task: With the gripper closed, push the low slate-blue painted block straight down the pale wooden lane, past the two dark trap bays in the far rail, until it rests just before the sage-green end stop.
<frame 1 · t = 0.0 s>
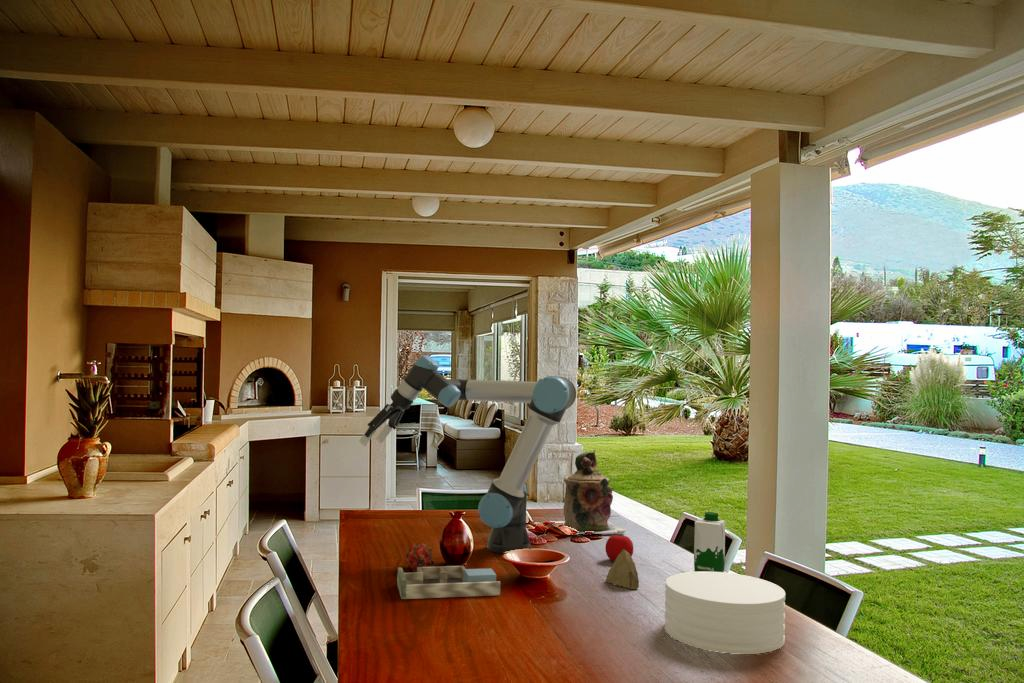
hand: (370, 442, 267), 36 cm above the table, tool tilted 35°, fingers open, 13 cm apart
block: (479, 589, 215), on the table
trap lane: (449, 590, 213), on the table
cookie jar: (586, 530, 303), on the table
plate stack: (723, 635, 184), on the table
dragon fruit: (419, 570, 234), on the table
milk carton: (708, 580, 232), on the table
fruit: (619, 561, 253), on the table
rock: (622, 586, 223), on the table
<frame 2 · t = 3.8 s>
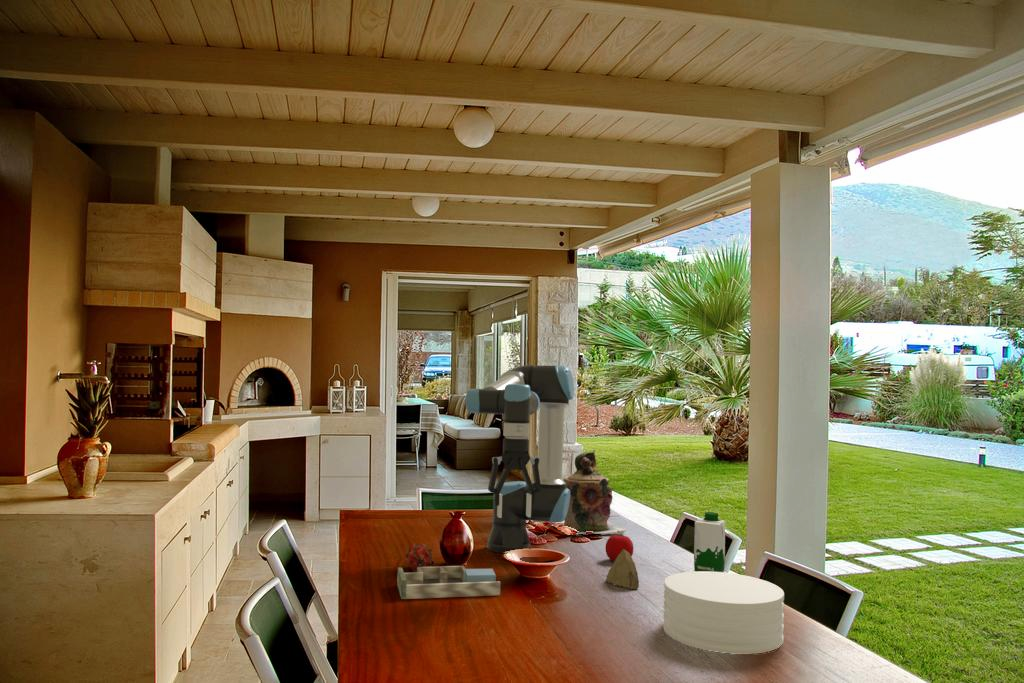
hand: (513, 516, 218), 20 cm above the table, tool pointing down, fingers open, 8 cm apart
nothing on the table moved.
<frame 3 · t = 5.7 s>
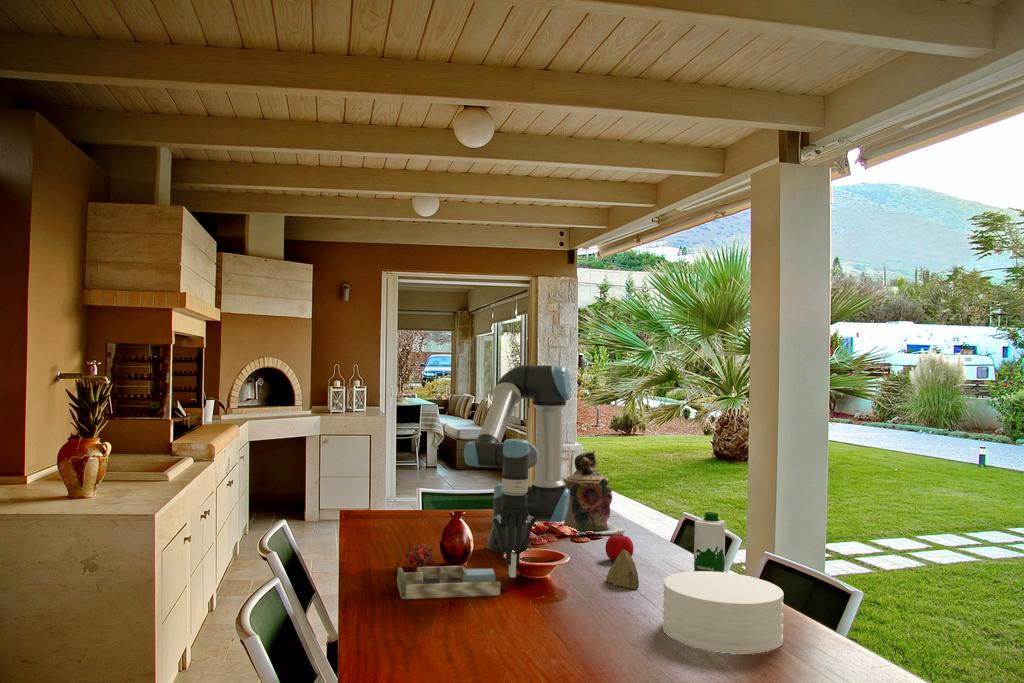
hand: (512, 576, 217), 3 cm above the table, tool pointing down, fingers closed
nothing on the table moved.
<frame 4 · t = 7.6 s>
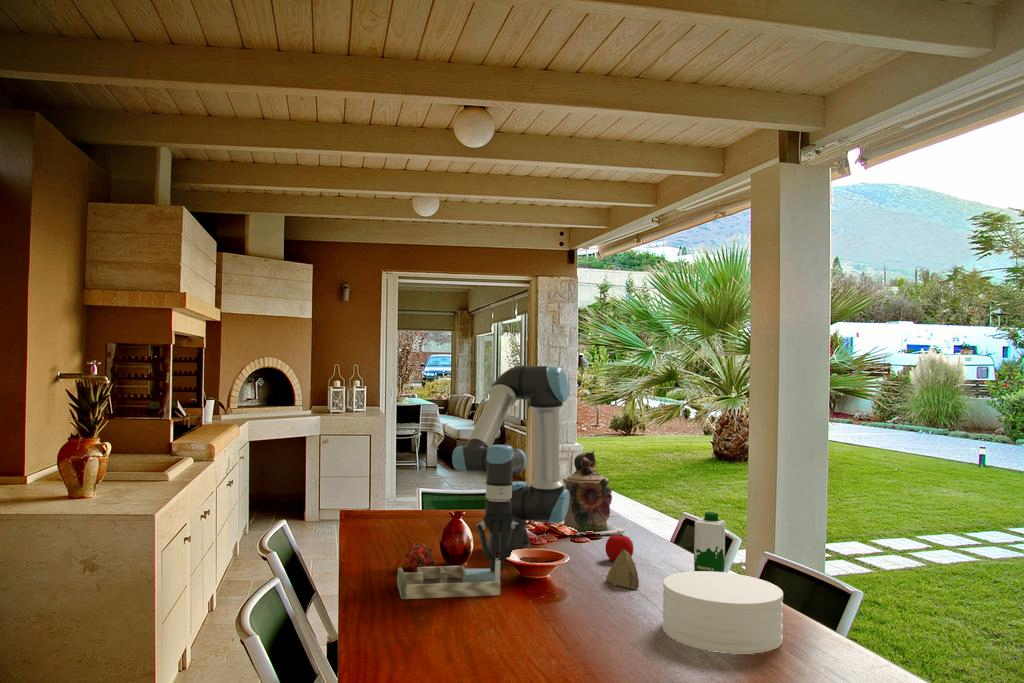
hand: (496, 582, 216), 2 cm above the table, tool pointing down, fingers closed
block: (479, 589, 215), on the table, touching gripper
everything else where it was.
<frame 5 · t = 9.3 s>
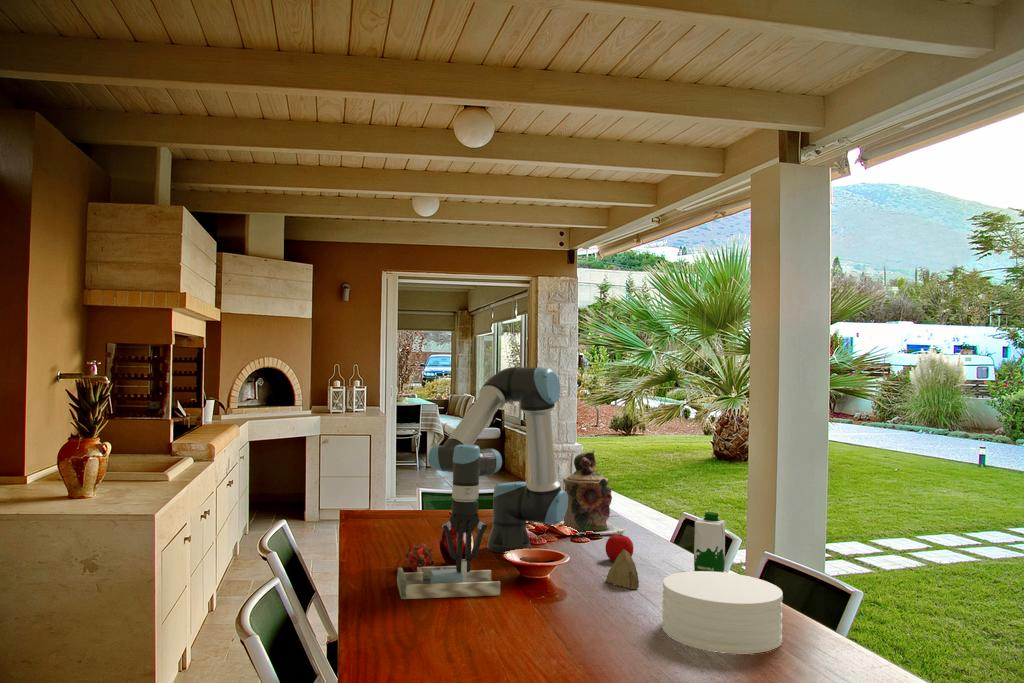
hand: (462, 583, 214), 2 cm above the table, tool pointing down, fingers closed
block: (446, 590, 213), on the table
everything else where it was.
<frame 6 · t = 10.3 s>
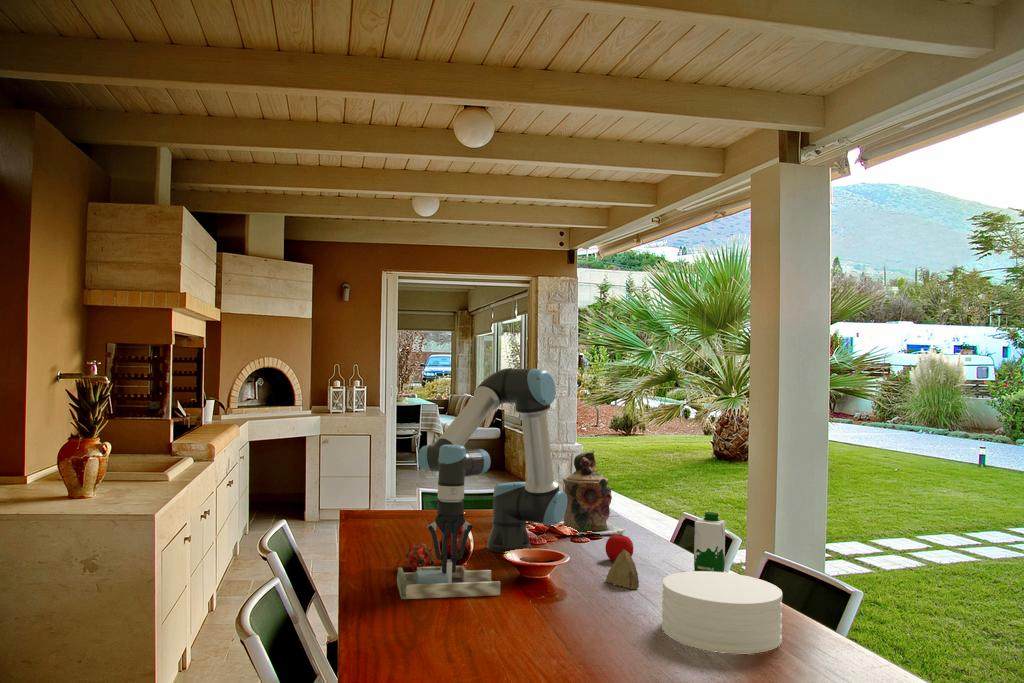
hand: (448, 584, 213), 2 cm above the table, tool pointing down, fingers closed
block: (431, 591, 212), on the table
everything else where it was.
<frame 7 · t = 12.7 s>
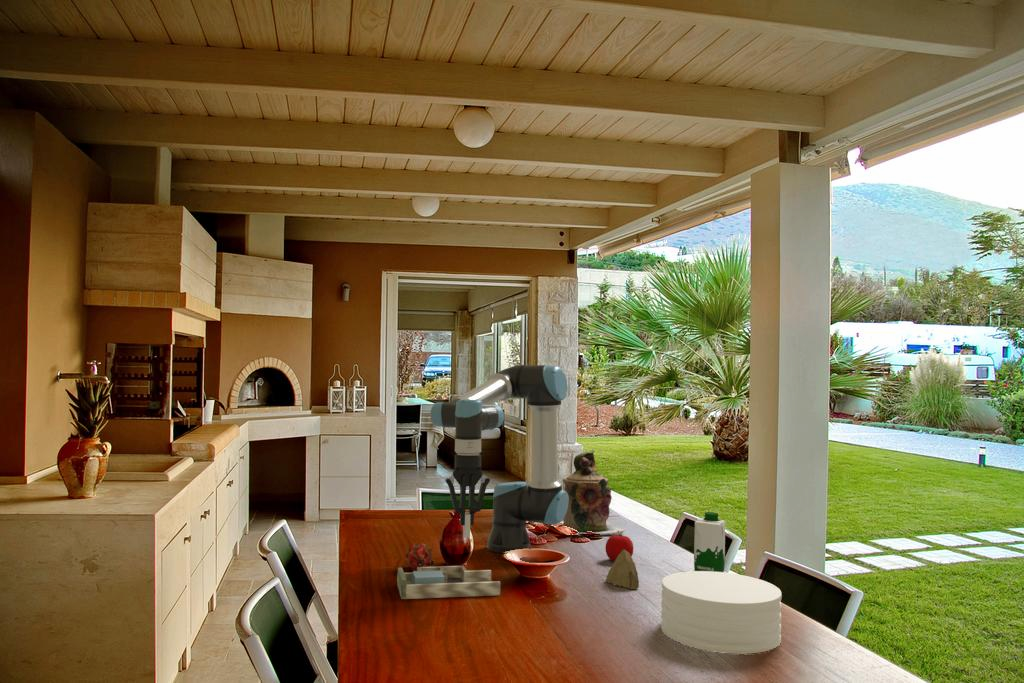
hand: (466, 536, 215), 15 cm above the table, tool pointing down, fingers closed
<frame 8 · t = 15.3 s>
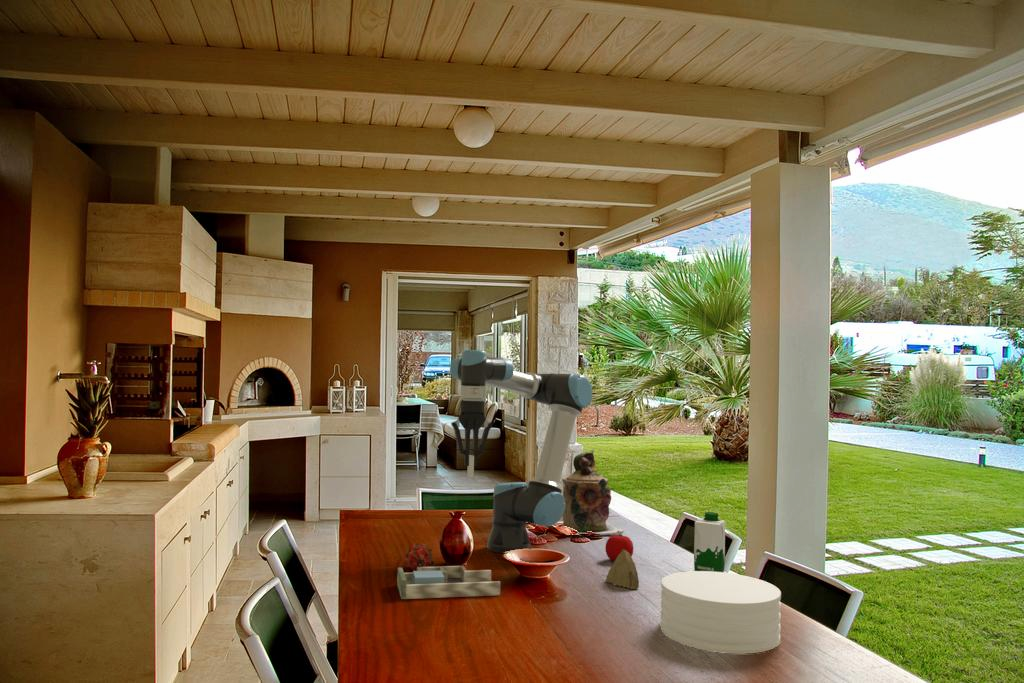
hand: (470, 476, 233), 29 cm above the table, tool pointing down, fingers closed
at the end: block inside the target area (2.2 cm from its centre), on the table; block tilted 0° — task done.
